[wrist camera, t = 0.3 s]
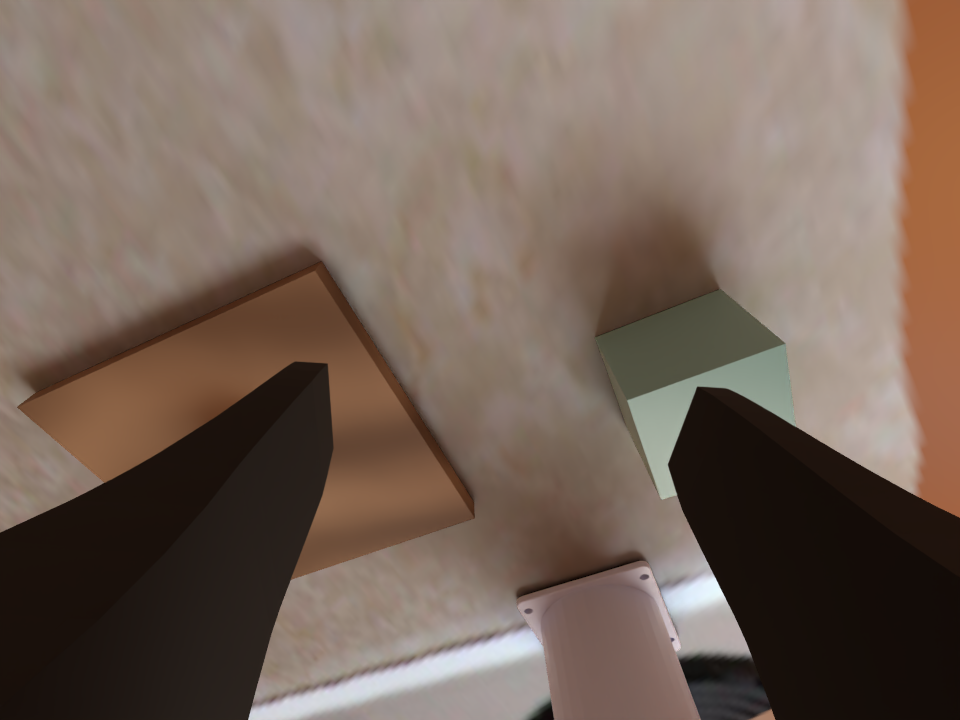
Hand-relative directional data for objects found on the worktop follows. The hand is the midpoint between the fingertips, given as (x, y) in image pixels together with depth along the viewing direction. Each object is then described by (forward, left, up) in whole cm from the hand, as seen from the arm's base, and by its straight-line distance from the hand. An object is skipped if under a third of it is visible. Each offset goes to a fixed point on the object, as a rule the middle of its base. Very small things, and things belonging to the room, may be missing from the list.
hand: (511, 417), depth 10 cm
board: (-5, +13, -10) cm, 17 cm away
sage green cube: (-8, -5, -10) cm, 14 cm away
